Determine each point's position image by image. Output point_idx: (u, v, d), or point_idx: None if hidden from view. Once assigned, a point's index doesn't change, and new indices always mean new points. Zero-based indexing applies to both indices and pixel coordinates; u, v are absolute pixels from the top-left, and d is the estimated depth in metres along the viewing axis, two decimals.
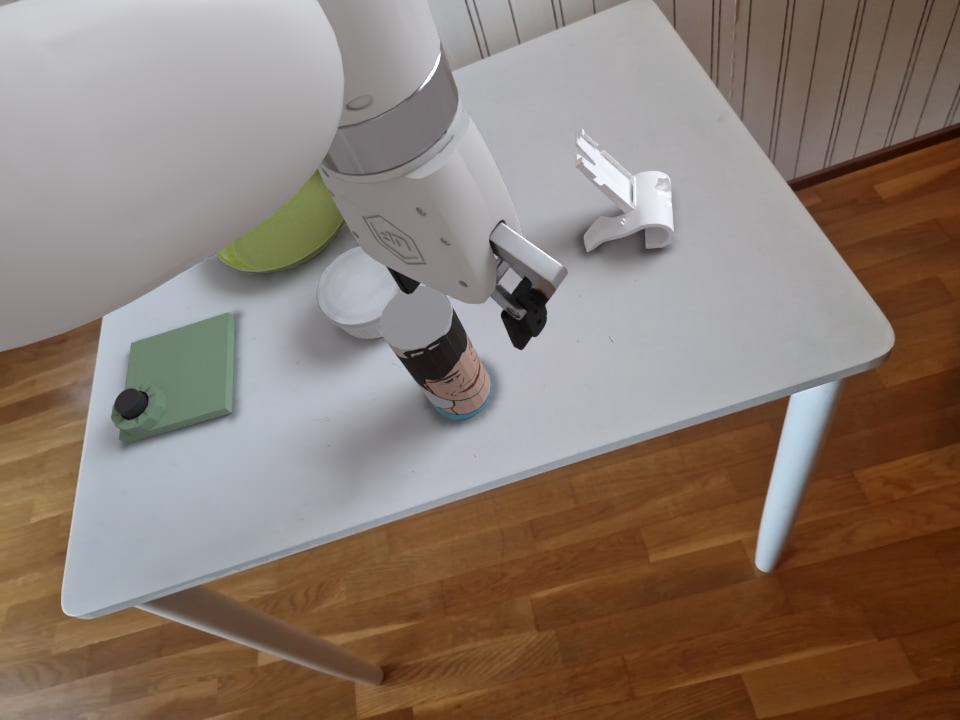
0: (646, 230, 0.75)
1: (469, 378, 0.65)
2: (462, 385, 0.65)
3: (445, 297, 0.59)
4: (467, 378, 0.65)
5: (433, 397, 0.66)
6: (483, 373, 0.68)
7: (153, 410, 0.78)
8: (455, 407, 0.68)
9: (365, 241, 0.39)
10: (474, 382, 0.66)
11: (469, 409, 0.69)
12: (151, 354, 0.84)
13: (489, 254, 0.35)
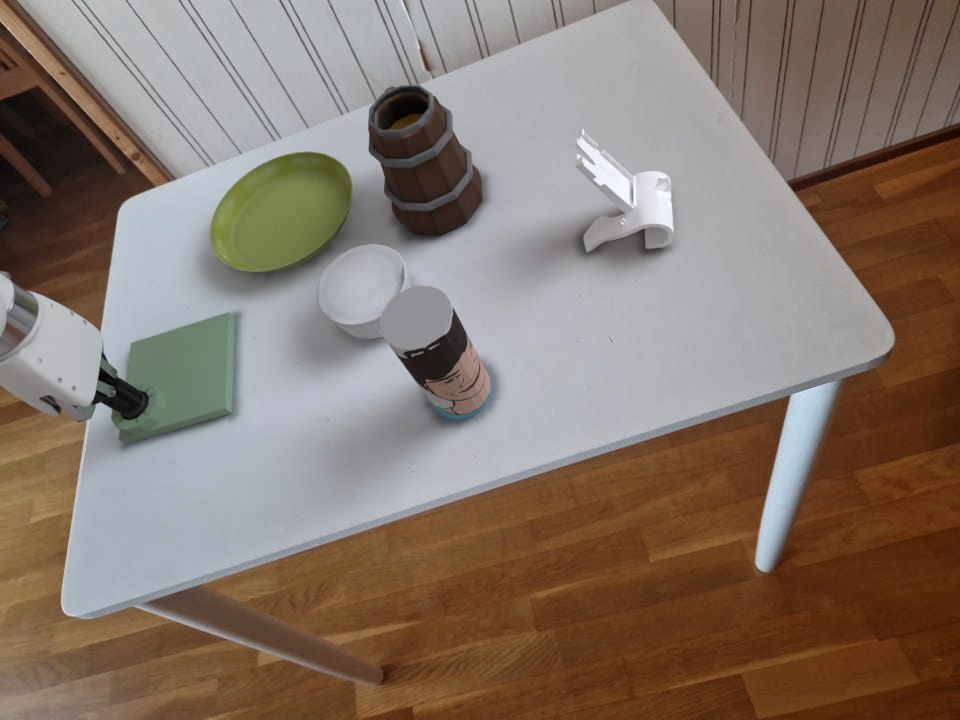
0: (646, 230, 0.75)
1: (470, 378, 0.65)
2: (462, 385, 0.65)
3: (445, 297, 0.59)
4: (467, 378, 0.65)
5: (433, 397, 0.66)
6: (483, 373, 0.68)
7: (153, 410, 0.78)
8: (455, 407, 0.68)
9: None
10: (474, 382, 0.66)
11: (469, 409, 0.69)
12: (151, 354, 0.84)
13: (42, 404, 0.67)
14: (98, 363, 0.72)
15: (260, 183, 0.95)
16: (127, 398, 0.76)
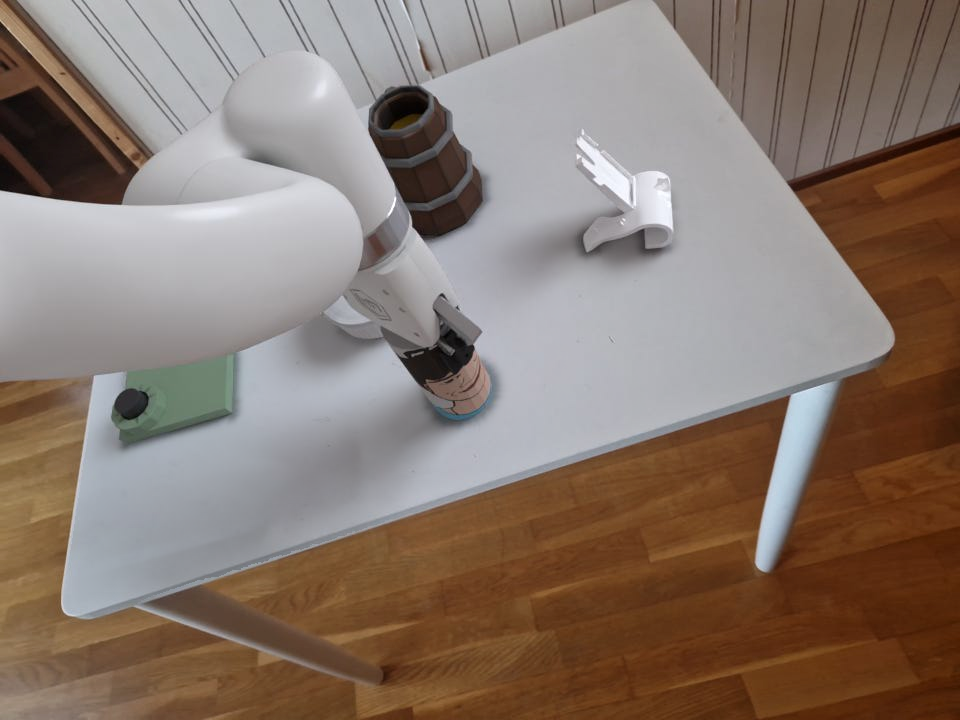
0: (646, 230, 0.75)
1: (470, 378, 0.65)
2: (462, 385, 0.65)
3: None
4: (467, 378, 0.65)
5: (433, 397, 0.66)
6: (483, 373, 0.68)
7: (153, 410, 0.78)
8: (455, 407, 0.68)
9: (352, 302, 0.57)
10: (474, 382, 0.66)
11: (469, 409, 0.69)
12: None
13: (433, 315, 0.52)
14: None
15: None
16: None
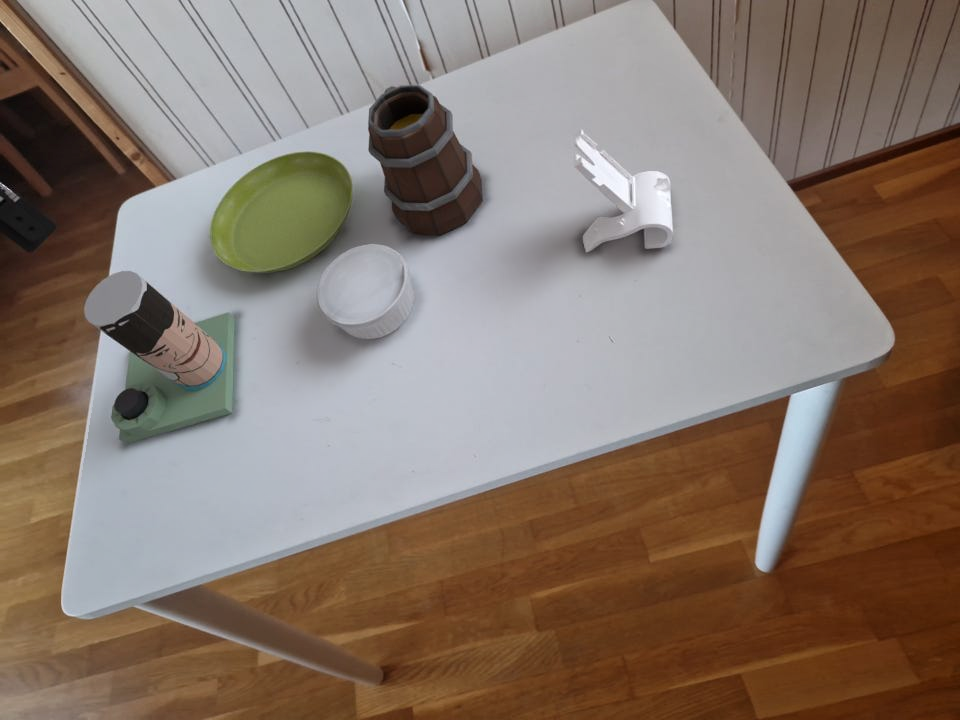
0: (645, 230, 0.75)
1: (184, 353, 0.74)
2: (176, 359, 0.74)
3: (139, 280, 0.69)
4: (180, 352, 0.74)
5: (157, 370, 0.76)
6: (207, 349, 0.77)
7: (153, 410, 0.78)
8: (181, 379, 0.77)
9: None
10: (192, 356, 0.75)
11: (197, 381, 0.78)
12: None
13: None
14: None
15: (260, 183, 0.95)
16: (36, 214, 0.55)
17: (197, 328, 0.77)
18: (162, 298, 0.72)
